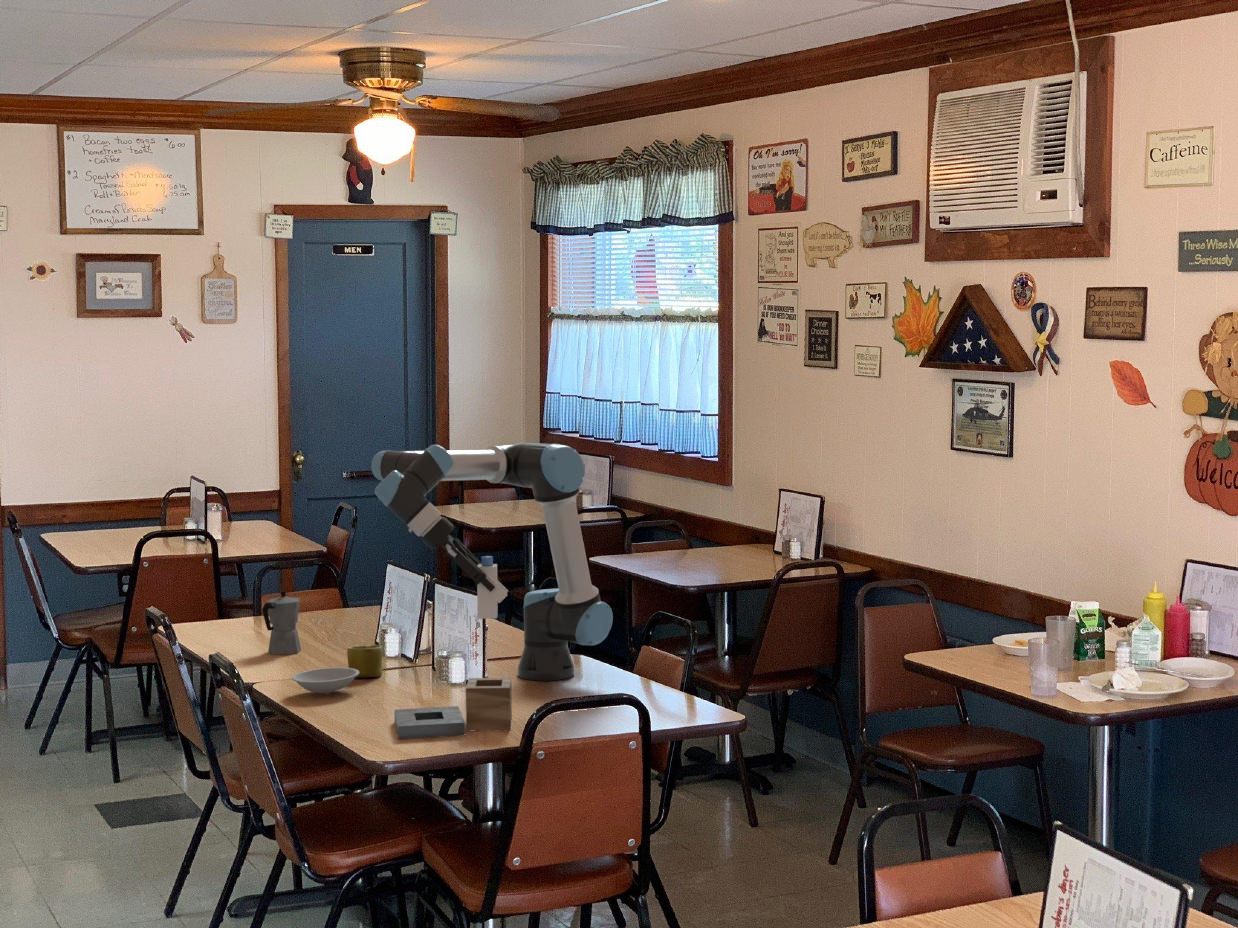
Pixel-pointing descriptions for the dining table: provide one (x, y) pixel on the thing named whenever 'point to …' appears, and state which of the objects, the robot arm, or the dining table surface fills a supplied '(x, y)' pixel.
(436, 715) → the lower socket
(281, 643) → the coffeepot
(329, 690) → the dish
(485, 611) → the plug
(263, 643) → the dining table surface
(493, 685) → the upper socket
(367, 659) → the mug
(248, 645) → the dining table surface
